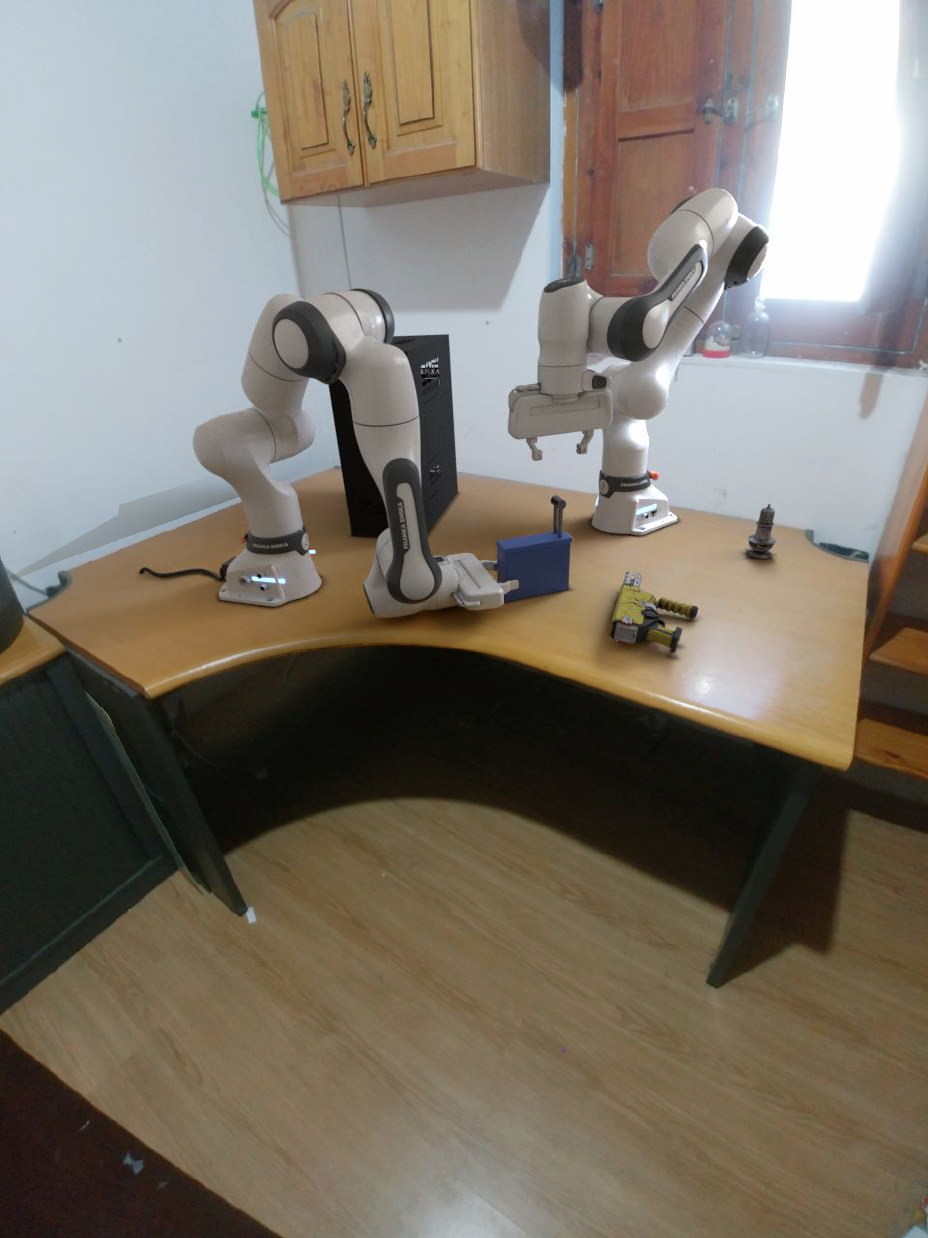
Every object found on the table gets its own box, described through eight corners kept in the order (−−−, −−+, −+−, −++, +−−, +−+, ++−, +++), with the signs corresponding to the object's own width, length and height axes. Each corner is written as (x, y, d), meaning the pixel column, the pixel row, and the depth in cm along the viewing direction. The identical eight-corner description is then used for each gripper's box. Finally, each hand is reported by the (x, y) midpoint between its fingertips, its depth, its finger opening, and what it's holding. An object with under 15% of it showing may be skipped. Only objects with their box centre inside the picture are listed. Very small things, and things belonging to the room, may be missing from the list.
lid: (562, 534, 128) (563, 492, 123) (572, 542, 124) (574, 499, 119) (496, 546, 124) (495, 503, 119) (504, 554, 120) (503, 510, 115)
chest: (558, 580, 133) (560, 535, 127) (568, 589, 129) (570, 543, 124) (497, 592, 129) (496, 546, 124) (505, 602, 125) (504, 555, 120)
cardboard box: (424, 538, 157) (407, 351, 135) (351, 535, 162) (323, 353, 139) (457, 492, 189) (448, 334, 166) (396, 490, 193) (379, 336, 171)
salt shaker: (775, 559, 136) (787, 508, 130) (747, 558, 137) (757, 508, 131) (769, 548, 141) (780, 499, 135) (742, 548, 142) (752, 499, 136)
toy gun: (700, 582, 122) (625, 568, 126) (700, 638, 102) (611, 620, 106) (695, 602, 124) (621, 588, 128) (693, 661, 104) (606, 643, 108)
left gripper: (459, 593, 112) (528, 580, 115) (431, 552, 129) (492, 542, 132) (461, 623, 115) (528, 609, 118) (433, 579, 132) (492, 568, 135)
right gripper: (514, 389, 104) (515, 468, 111) (619, 377, 109) (614, 453, 116) (501, 383, 110) (503, 459, 116) (602, 372, 114) (598, 446, 121)
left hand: (508, 573), depth 125 cm, fingers open, 8 cm apart
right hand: (559, 456), depth 116 cm, fingers open, 8 cm apart
